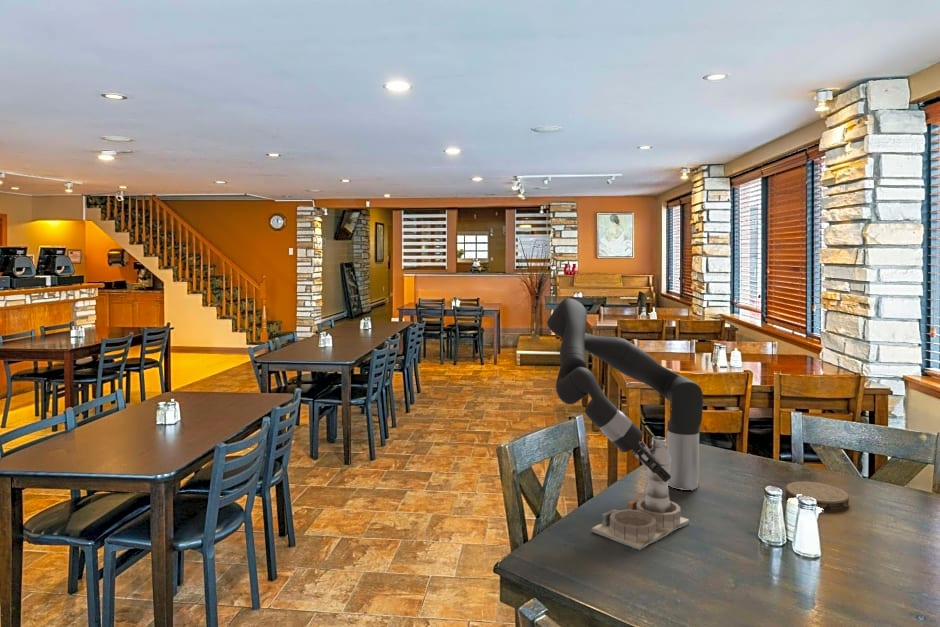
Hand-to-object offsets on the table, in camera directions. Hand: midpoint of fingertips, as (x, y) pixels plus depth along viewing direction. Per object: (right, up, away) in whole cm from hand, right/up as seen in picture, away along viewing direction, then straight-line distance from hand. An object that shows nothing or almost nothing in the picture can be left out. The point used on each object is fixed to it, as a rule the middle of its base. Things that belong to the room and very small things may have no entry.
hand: (664, 474), depth 168 cm
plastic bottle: (-2, -11, +1) cm, 11 cm away
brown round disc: (+49, -12, +17) cm, 53 cm away
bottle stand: (-7, -13, -2) cm, 15 cm away
